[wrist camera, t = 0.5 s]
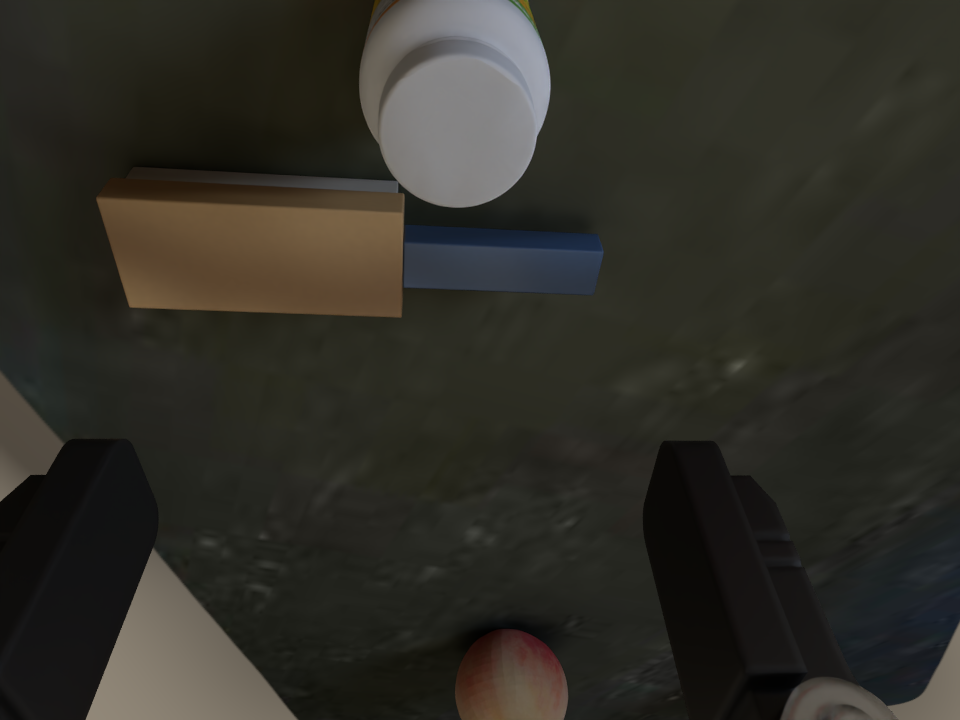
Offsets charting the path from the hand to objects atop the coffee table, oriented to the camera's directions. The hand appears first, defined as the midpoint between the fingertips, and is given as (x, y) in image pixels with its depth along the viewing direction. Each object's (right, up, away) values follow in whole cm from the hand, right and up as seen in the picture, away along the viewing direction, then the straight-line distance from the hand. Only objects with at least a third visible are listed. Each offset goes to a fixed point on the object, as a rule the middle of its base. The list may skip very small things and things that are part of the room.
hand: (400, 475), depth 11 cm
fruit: (+3, -20, +44) cm, 49 cm away
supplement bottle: (0, +14, +14) cm, 20 cm away
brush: (-3, +7, +19) cm, 21 cm away
